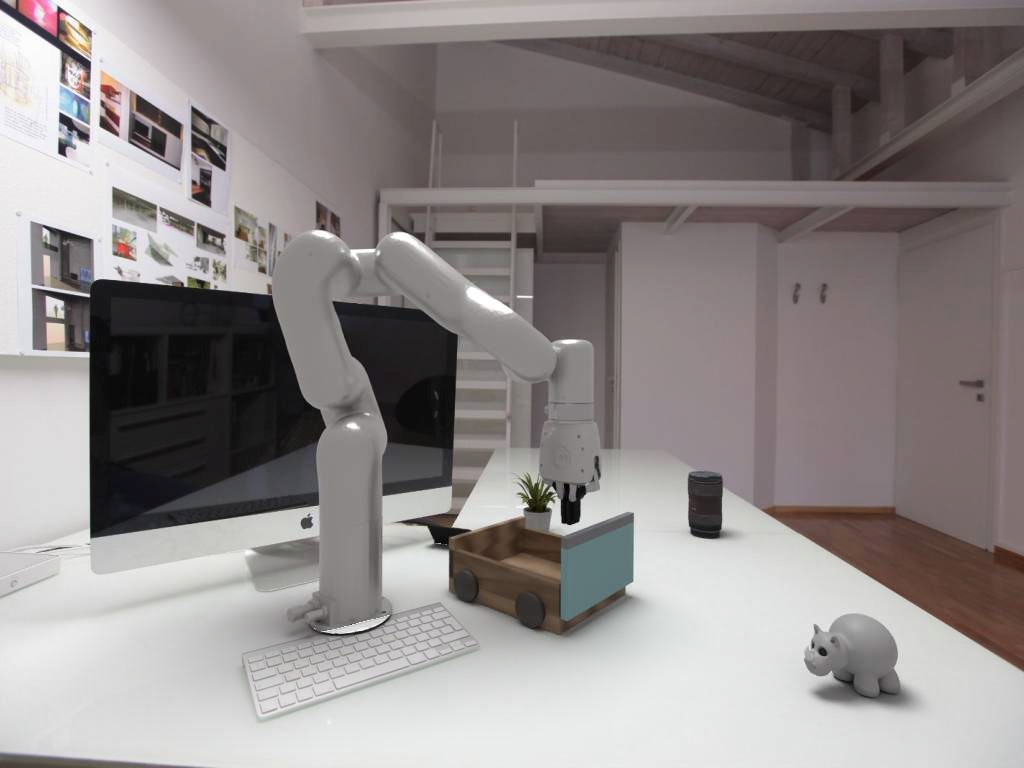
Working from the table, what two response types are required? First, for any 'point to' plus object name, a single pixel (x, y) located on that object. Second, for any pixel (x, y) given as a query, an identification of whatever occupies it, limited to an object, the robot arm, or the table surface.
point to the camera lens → (705, 503)
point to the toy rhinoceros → (856, 654)
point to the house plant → (536, 504)
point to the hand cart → (514, 573)
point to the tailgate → (596, 563)
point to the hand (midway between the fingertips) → (570, 522)
